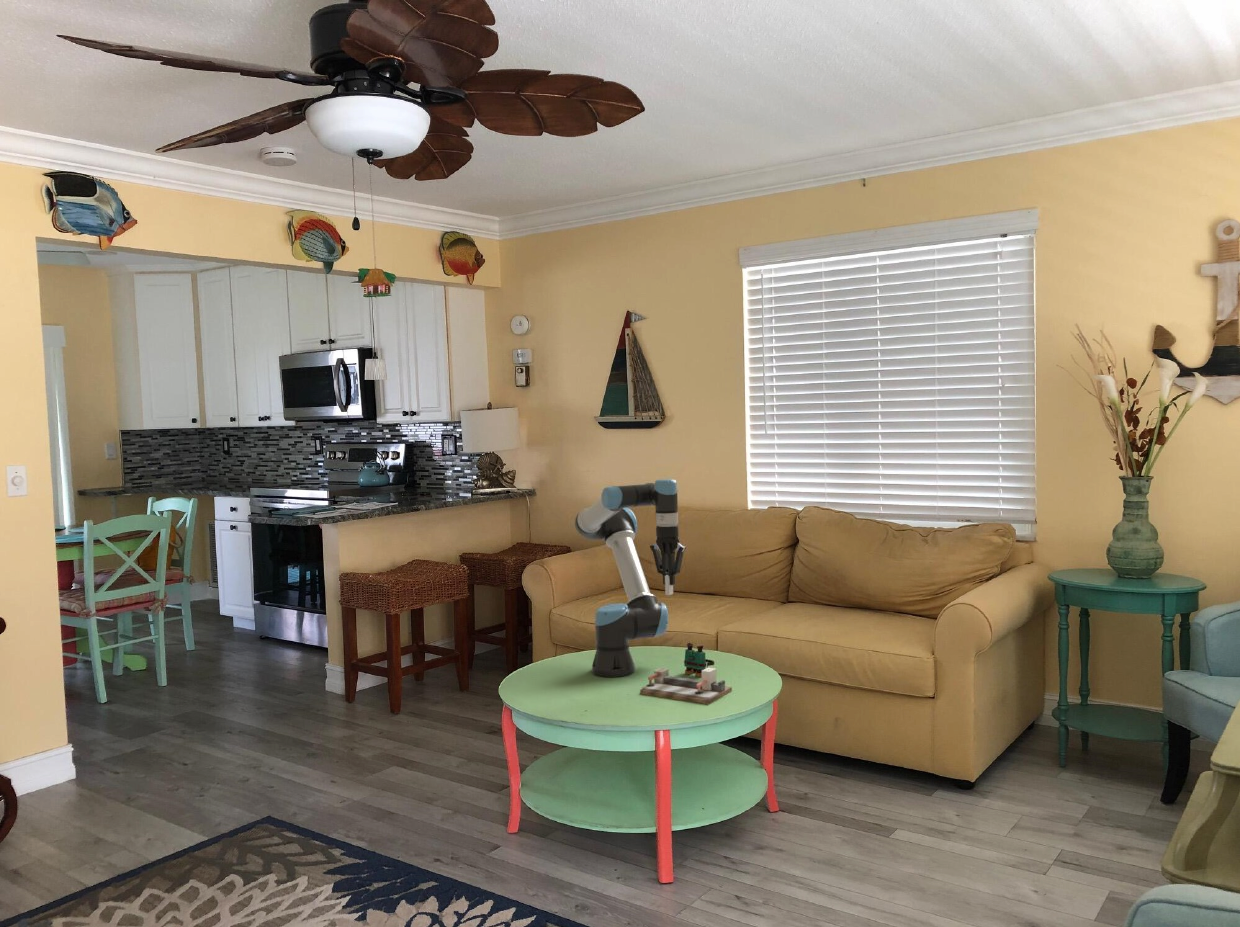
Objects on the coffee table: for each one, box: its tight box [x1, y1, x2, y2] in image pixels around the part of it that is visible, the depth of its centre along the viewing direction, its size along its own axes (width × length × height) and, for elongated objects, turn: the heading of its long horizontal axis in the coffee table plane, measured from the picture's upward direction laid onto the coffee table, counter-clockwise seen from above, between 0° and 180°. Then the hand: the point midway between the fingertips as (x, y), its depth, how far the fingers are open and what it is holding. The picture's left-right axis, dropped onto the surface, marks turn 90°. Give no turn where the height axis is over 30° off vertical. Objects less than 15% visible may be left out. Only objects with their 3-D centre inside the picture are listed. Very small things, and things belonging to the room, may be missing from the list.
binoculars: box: [683, 642, 715, 677], centre depth 327 cm, size 9×10×10 cm
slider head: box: [697, 667, 718, 692], centre depth 302 cm, size 3×10×6 cm, turn 147°
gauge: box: [639, 667, 733, 705], centre depth 305 cm, size 25×16×5 cm, turn 57°
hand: (669, 594), depth 318 cm, fingers closed
